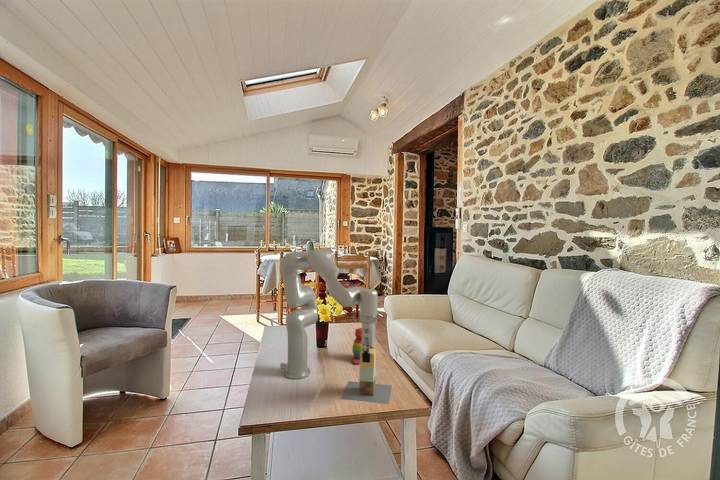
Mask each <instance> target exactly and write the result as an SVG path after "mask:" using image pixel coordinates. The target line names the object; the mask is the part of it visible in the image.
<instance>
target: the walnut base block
mask: <svg viewBox="0 0 720 480" xmlns="http://www.w3.org/2000/svg"><path fill="white" fill-rule="evenodd" d="M359 382H360V383H359V395H369V396H373V395H374V392H375V384H376V377H375V378H374V382H367V381H359Z"/></svg>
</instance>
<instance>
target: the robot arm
mask: <svg viewBox="0 0 720 480" xmlns="http://www.w3.org/2000/svg"><path fill="white" fill-rule="evenodd" d="M334 256H335V255H334V254H333V252H332V251H331V250H330V249H328V248H321V249H320V248H319V249H313V250H301V251H292V252H288V253H286V254H285V255H283V256H282V259H281V260H280V263H279V268H280V274H281V277H282V281H283V288H284V297H285V301H286V305H287V306H288V307H290V308H297V307H301V308H297V309H294V310H292V311H290V312H289V313H287V315H286V317H285V325H286V326H285V327H286V331H287V362H286V363H283V362H281V363H280V364H279V366H280V370H284V374H283V375H284V376H285V377H286V378H288V379H293V380H294V379H295V380H297V379H298V380H299V379H304V378H306V377H308V376H310V374H311V368H309V367H308V335H307V332H306V329H305V328H307V327H310V326H312V325H314V324H315V323H316V322H317V321H318V317H319V311H318V305H317V300H316V299H317V297H316V294H315V290H314V289H313V288H312V287H311V286H310V285H308V284H304V285H303V284H302V279H301V276H300V273H299V272H298V271H297V270H301V269H307V268H311V269H313V270H314V272H316V274H318V276H320V277H321V278H322V279H323V280H324V281H325V287H326V289H327V292H328V294H329V296H330V297H331V298H332V299H333V300H334V301H335V302H336V303H337V304H338V305H340V306H342V307H345V308H349V307H353V306H354V305H359V323H360V324H361V328H362V346H363V352H362V362H366V363H370V353H369V352H370V348H372V349H374V346H375V344H376V342H377V341H376V340H377V337H376V333H377V331H376V330H377V329H376V324H377V323H378V303H379V302H378V299H379V298H378V291H377V290H376V289H375V288H374V289H373V288H365V287H361V286H357V285H356V286H353V287H348V288H346V287H344V286H343V284H341V282H340V281H339V280H338V276H339V274H340V268H339V267H338V265H336V264H335V263H334V261H335V260H334V259H335V258H334Z"/></svg>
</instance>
